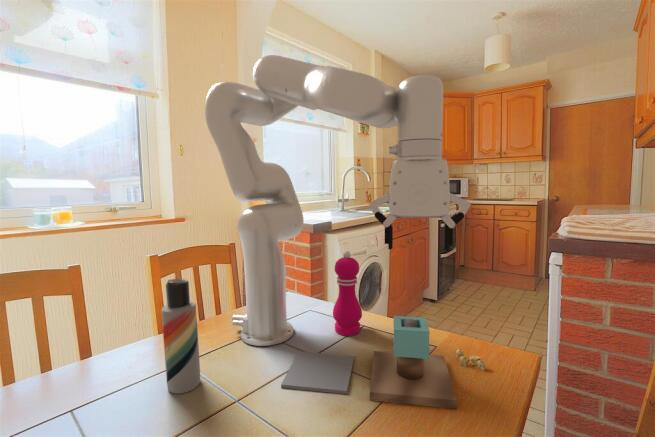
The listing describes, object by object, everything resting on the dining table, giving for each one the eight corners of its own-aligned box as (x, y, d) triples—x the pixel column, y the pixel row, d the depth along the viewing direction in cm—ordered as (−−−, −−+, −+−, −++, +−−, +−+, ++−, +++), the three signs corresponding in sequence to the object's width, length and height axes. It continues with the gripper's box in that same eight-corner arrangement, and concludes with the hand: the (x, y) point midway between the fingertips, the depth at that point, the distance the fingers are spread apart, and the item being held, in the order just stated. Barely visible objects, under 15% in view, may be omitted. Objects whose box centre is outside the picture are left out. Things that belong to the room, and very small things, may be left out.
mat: (281, 387, 62) (281, 384, 61) (298, 354, 73) (298, 351, 73) (347, 394, 59) (347, 390, 59) (354, 358, 71) (354, 355, 71)
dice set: (486, 374, 66) (486, 364, 66) (457, 370, 67) (458, 361, 67) (482, 360, 71) (482, 351, 70) (455, 357, 72) (456, 348, 72)
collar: (393, 356, 60) (394, 329, 60) (393, 340, 66) (393, 315, 65) (429, 359, 59) (429, 331, 59) (425, 342, 65) (425, 317, 64)
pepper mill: (363, 337, 81) (363, 254, 78) (332, 337, 81) (331, 254, 79) (360, 324, 88) (360, 248, 86) (333, 324, 88) (331, 248, 86)
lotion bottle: (164, 383, 63) (156, 279, 61) (195, 372, 67) (189, 273, 65) (171, 398, 59) (163, 286, 57) (204, 386, 62) (198, 280, 60)
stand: (369, 400, 58) (369, 336, 56) (373, 357, 71) (373, 305, 70) (456, 408, 55) (458, 342, 54) (443, 363, 69) (444, 309, 68)
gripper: (367, 152, 57) (367, 251, 59) (477, 149, 54) (473, 254, 56) (370, 155, 65) (370, 243, 67) (467, 152, 61) (464, 245, 63)
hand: (417, 248), depth 61 cm, fingers open, 9 cm apart
